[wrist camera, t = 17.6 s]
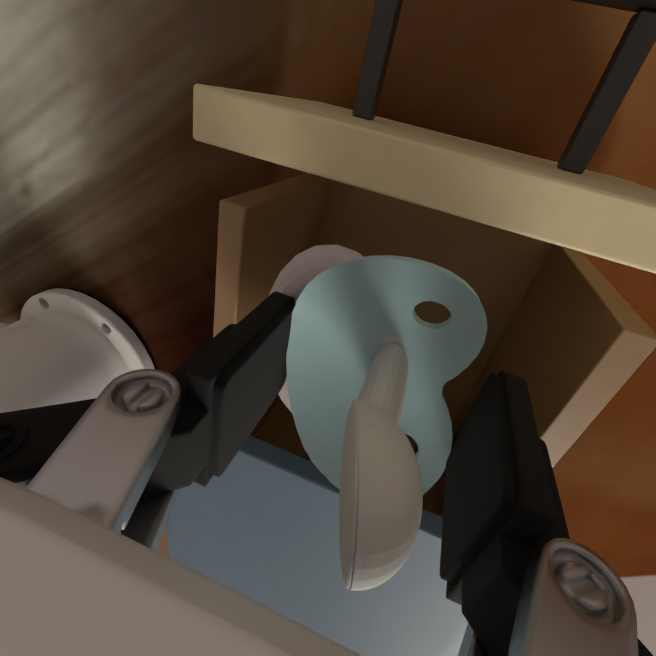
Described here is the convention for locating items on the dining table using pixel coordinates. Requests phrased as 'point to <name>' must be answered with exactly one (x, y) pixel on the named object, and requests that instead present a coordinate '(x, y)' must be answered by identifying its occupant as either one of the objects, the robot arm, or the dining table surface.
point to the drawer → (450, 230)
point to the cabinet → (310, 557)
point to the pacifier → (375, 390)
